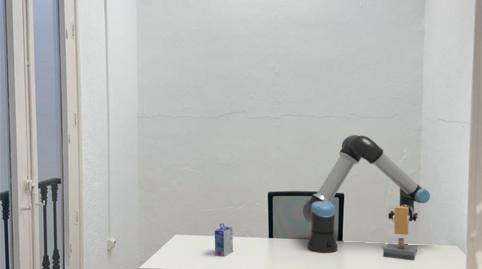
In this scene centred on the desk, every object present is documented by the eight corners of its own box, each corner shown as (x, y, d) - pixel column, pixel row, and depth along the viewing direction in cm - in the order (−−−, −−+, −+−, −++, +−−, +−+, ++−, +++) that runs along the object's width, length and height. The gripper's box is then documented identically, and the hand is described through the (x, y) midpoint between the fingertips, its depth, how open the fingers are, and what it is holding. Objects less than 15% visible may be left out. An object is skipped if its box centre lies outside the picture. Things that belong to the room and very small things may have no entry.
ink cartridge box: (223, 250, 231) (223, 221, 231) (233, 251, 228) (233, 222, 228) (214, 255, 222) (214, 225, 222) (224, 256, 219) (224, 226, 219)
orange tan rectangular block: (394, 233, 230) (394, 207, 230) (395, 231, 235) (396, 205, 235) (407, 234, 227) (407, 208, 227) (408, 232, 233) (408, 206, 233)
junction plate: (383, 256, 224) (383, 242, 223) (388, 247, 242) (388, 233, 242) (413, 260, 218) (414, 245, 218) (416, 250, 236) (417, 236, 236)
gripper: (423, 221, 244) (421, 229, 223) (386, 217, 252) (380, 225, 231) (424, 206, 244) (421, 214, 223) (386, 204, 252) (380, 210, 231)
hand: (400, 220), depth 227 cm, fingers closed on orange tan rectangular block, 6 cm apart
